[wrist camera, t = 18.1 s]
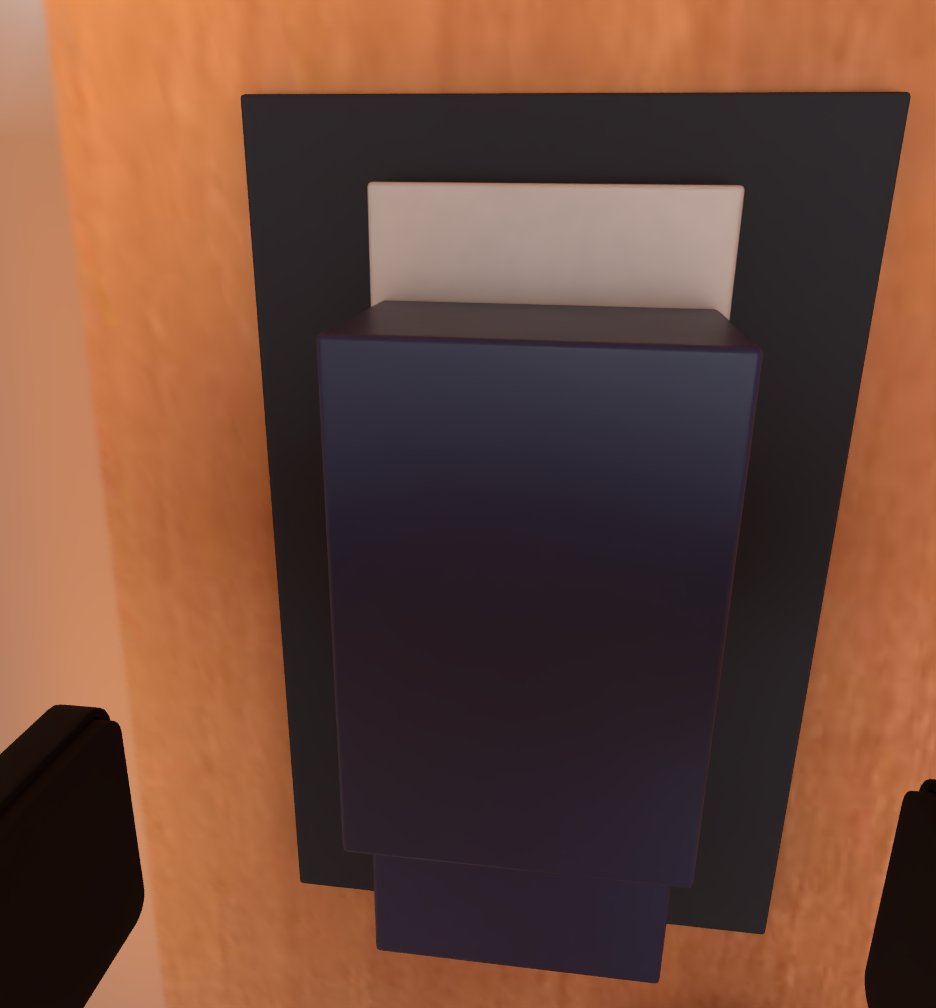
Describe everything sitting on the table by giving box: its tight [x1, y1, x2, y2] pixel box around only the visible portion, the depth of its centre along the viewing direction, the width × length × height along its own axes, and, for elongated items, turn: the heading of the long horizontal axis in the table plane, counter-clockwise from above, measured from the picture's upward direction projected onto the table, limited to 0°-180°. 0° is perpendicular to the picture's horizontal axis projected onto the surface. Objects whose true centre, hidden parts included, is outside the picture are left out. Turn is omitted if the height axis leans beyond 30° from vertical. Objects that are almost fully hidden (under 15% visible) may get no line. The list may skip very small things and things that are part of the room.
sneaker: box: [317, 182, 763, 983], centre depth 16 cm, size 16×6×6 cm, turn 179°
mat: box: [241, 92, 910, 934], centre depth 19 cm, size 19×12×1 cm, turn 179°
